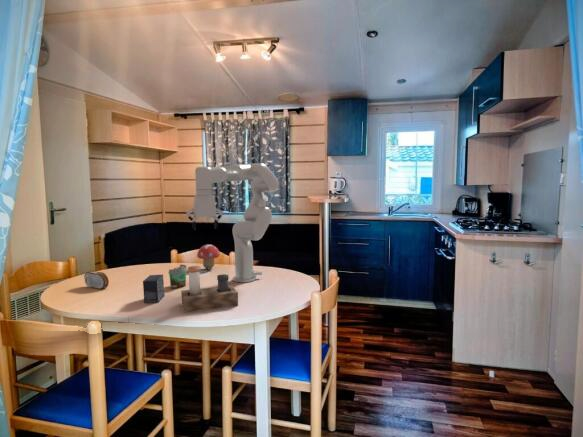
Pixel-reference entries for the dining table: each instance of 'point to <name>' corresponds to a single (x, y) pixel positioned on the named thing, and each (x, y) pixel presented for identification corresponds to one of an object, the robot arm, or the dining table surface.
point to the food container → (178, 277)
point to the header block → (209, 299)
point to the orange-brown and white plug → (194, 280)
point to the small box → (153, 289)
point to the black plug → (222, 282)
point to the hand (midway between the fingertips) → (205, 229)
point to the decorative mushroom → (208, 255)
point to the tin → (96, 280)
